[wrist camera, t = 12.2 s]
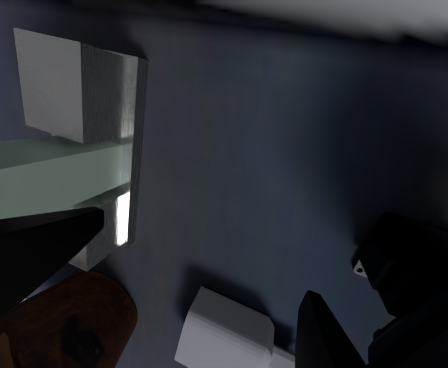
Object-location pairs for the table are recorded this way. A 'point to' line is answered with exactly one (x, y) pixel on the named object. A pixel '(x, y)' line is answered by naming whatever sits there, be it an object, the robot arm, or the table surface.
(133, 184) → the rail
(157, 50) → the table surface
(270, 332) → the charger
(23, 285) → the robot arm
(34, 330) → the brown flower pot
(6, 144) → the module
